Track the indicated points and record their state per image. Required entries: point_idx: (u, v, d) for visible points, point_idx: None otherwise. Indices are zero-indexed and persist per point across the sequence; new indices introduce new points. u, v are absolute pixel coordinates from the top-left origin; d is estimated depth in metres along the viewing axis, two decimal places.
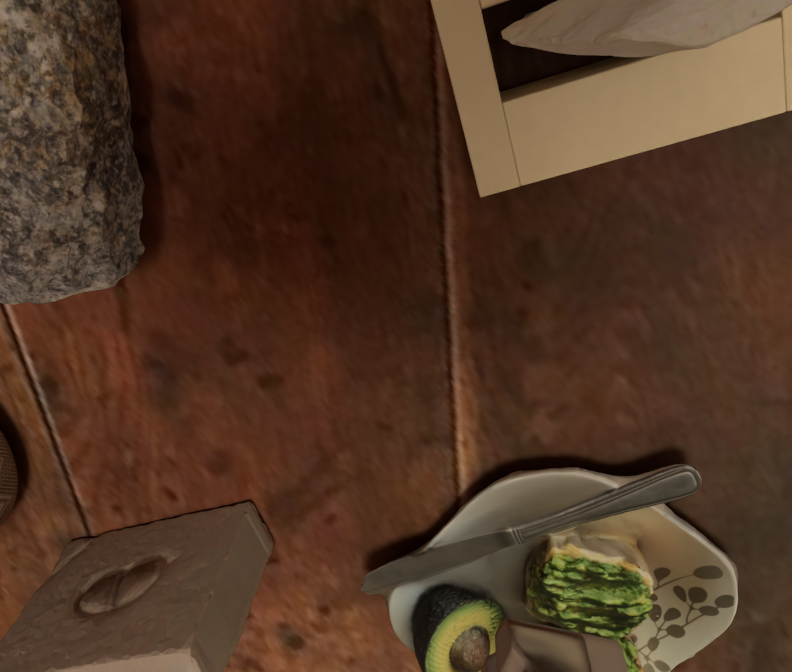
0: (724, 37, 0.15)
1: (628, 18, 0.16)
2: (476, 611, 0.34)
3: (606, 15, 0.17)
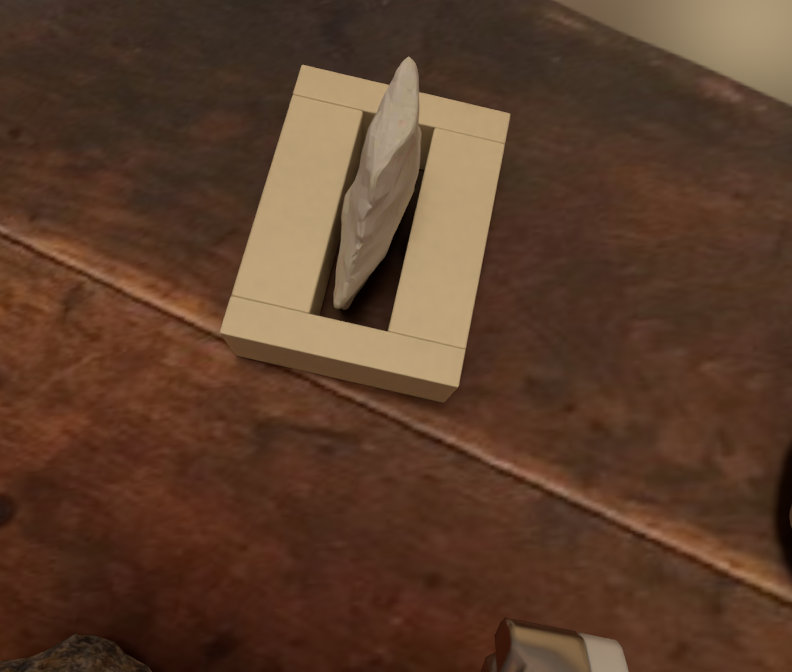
0: (415, 113, 0.19)
1: (367, 172, 0.19)
2: None
3: (359, 196, 0.20)
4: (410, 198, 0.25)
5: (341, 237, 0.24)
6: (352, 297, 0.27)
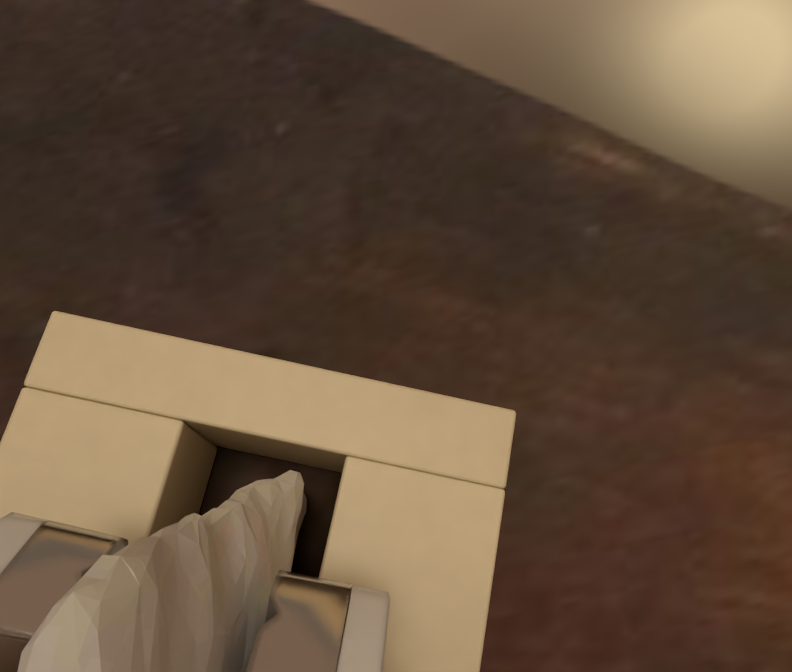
0: None
1: None
2: None
3: None
4: None
5: None
6: None
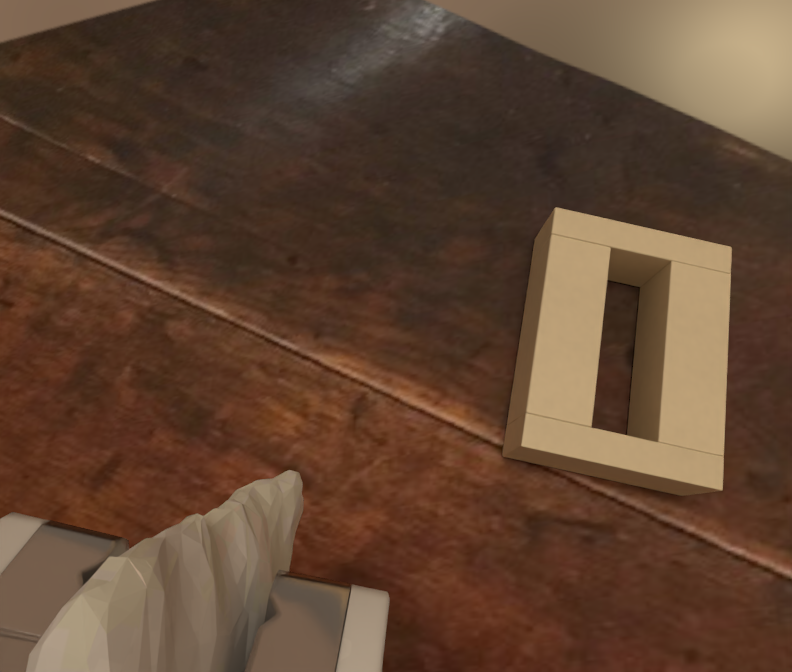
0: None
1: None
2: None
3: None
4: None
5: None
6: None
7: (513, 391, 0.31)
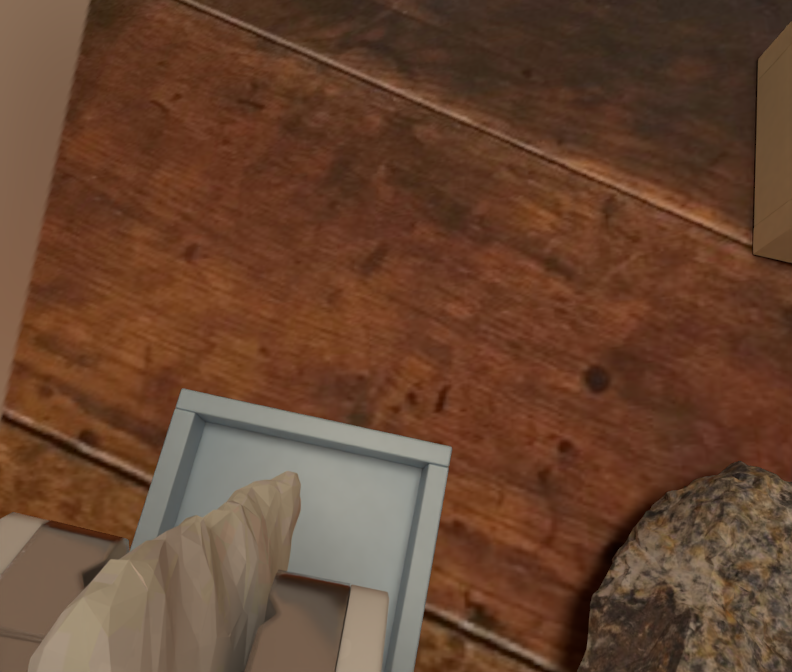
0: None
1: None
2: None
3: None
4: None
5: None
6: None
7: (759, 193, 0.32)
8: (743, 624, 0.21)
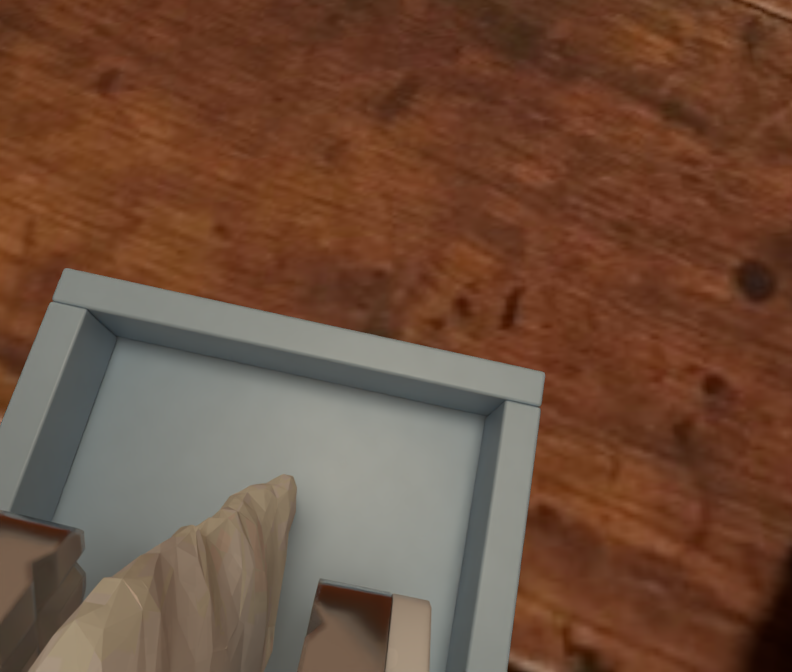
0: None
1: None
2: None
3: None
4: None
5: None
6: None
7: None
8: None
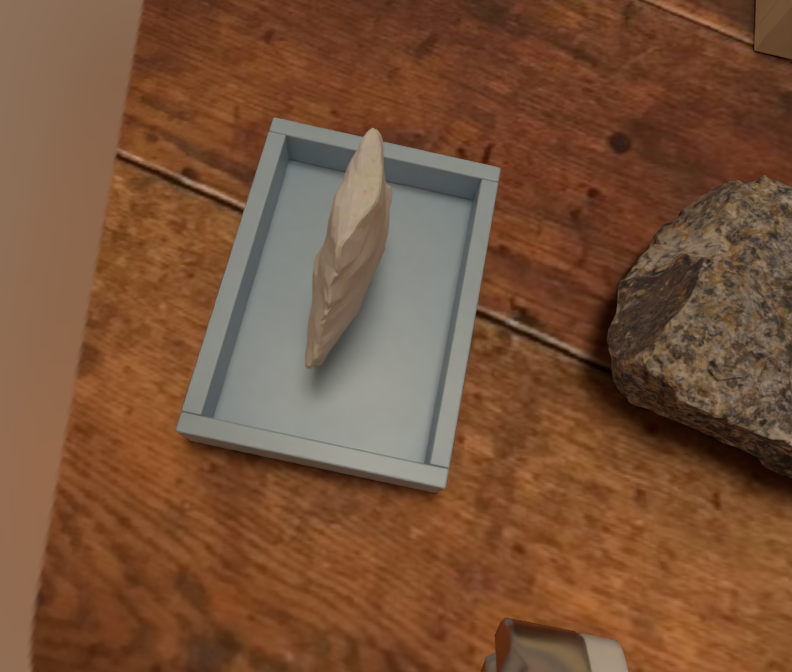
0: (379, 183, 0.19)
1: (332, 240, 0.19)
2: None
3: (326, 262, 0.20)
4: (381, 256, 0.25)
5: (312, 297, 0.24)
6: (326, 353, 0.27)
7: (759, 0, 0.36)
8: None
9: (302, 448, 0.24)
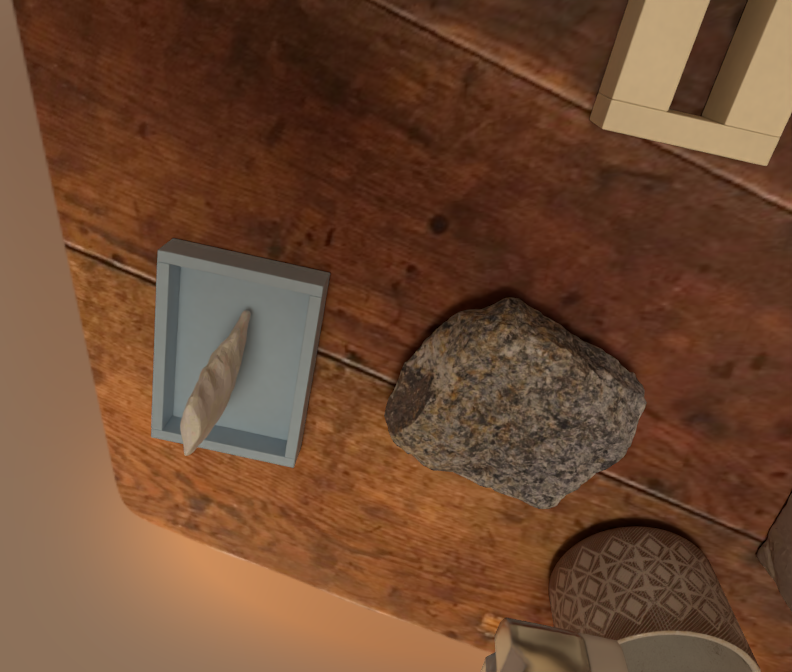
0: (199, 427, 0.36)
1: (184, 443, 0.37)
2: None
3: None
4: (238, 371, 0.41)
5: None
6: None
7: (610, 61, 0.35)
8: (462, 398, 0.39)
9: (217, 447, 0.46)
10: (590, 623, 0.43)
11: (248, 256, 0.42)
